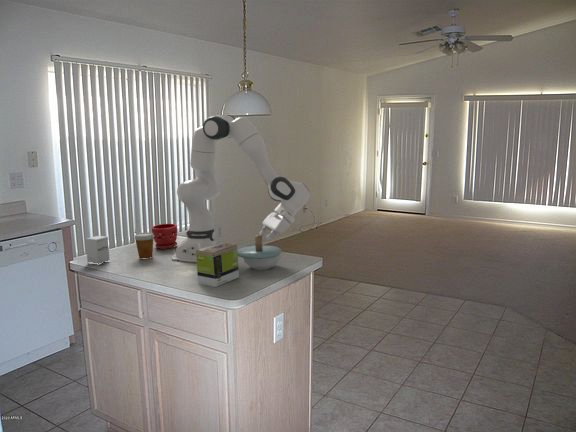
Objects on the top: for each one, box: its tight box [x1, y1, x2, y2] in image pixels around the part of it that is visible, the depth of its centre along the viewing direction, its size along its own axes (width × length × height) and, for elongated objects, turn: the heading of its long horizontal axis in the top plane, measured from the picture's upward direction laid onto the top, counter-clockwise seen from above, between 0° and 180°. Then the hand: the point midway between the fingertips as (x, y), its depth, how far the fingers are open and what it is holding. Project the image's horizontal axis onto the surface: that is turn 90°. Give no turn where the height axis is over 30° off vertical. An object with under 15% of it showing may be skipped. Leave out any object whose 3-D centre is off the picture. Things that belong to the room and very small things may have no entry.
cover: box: [237, 234, 282, 259], centre depth 220 cm, size 20×20×8 cm
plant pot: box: [151, 223, 178, 250], centre depth 265 cm, size 13×13×12 cm
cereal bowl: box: [242, 253, 282, 271], centre depth 222 cm, size 17×17×7 cm
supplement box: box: [85, 235, 110, 264], centre depth 236 cm, size 7×7×13 cm
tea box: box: [196, 241, 240, 288], centre depth 203 cm, size 15×10×15 cm, turn 145°
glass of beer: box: [133, 232, 154, 259], centre depth 244 cm, size 10×10×12 cm
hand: (263, 237), depth 221 cm, fingers open, 8 cm apart
